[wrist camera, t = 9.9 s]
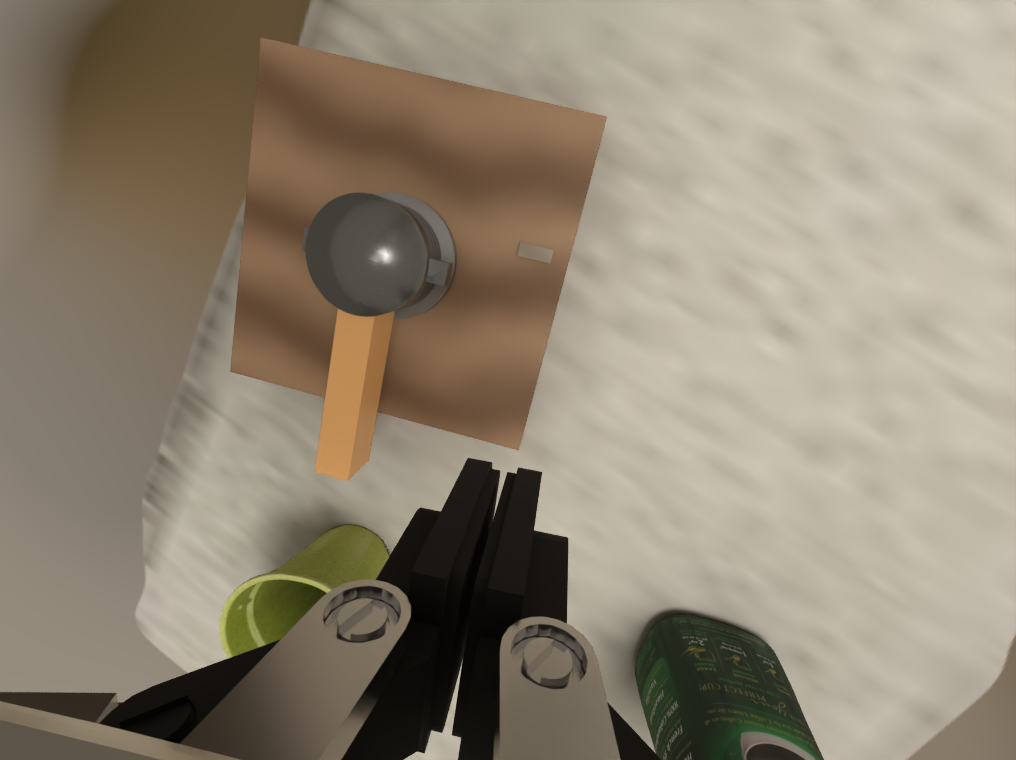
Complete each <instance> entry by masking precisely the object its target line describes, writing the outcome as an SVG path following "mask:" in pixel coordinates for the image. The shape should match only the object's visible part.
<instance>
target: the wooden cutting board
mask: <svg viewBox="0 0 1016 760" xmlns="http://www.w3.org/2000/svg"><path fill="white" fill-rule="evenodd" d="M606 119H607V117H606V116H601V115H597V114H593V113H588V112H584V111H579V110H575V109H571V108H566V107H562V106H558V105H553V104H549V103H545V102H540V101H536V100H532V99H527V98H523V97H518V96H514V95H510V94H505V93H501V92H497V91H492V90H488V89H484V88H479V87H475V86H470V85H466V84H462V83H457V82H453V81H449V80H444V79H440V78H436V77H431V76H427V75H422V74H418V73H414V72H409V71H405V70H401V69H396V68H392V67H388V66H383V65H379V64H375V63H370V62H366V61H361V60H357V59H353V58H348V57H344V56H340V55H335V54H331V53H327V52H322V51H318V50H313V49H309V48H305V47H300V46H296V45H292V44H287V43H283V42H278V41H274V40H270V39H265V38H261V41H260V52H259V64H258V74H257V85H256V96H255V107H254V118H253V129H252V140H251V150H250V161H249V172H248V184H247V194H246V205H245V216H244V227H243V238H242V249H241V260H240V271H239V282H238V293H237V304H236V314H235V325H234V336H233V347H232V358H231V369H230V372H234V373H237V374H241V375H245V376H248V377H252V378H256V379H259V380H263V381H267V382H270V383H274V384H278V385H281V386H285V387H289V388H292V389H296V390H300V391H303V392H307V393H311V394H314V395H318V396H322V397H325V396H326V389H327V382H328V375H329V368H330V361H331V354H332V347H333V340H334V333H335V326H336V319H337V312H338V308H337V307H335V306H334V305H332V304H331V303H330V302H329V301H327V300H326V299H325V298H324V296H323V295H322V294H321V293H320V292H319V290H318V289H317V287H316V286H315V284H314V282H313V280H312V278H311V276H310V273H309V270H308V267H307V262H306V253H305V251H302V243H303V234H304V228H309V227H310V225H311V223H312V221H313V219H314V218H315V216H316V214H317V213H318V212H319V211H320V210H321V208H322V207H324V206H325V205H326V204H327V203H328V202H330V201H331V200H333V199H334V198H337V197H339V196H341V195H345V194H348V193H356V192H359V193H369V194H374V195H377V196H380V197H383V198H385V199H388V200H391V201H394V202H396V203H399V204H402V205H405V206H407V207H409V208H411V209H413V210H415V211H416V212H418V213H419V214H420V215H422V216H423V217H424V218H425V219H426V220H427V222H428V223H429V224H430V225H431V227H432V228H433V230H434V232H435V234H436V236H437V238H438V241H439V245H440V249H441V261H445V262H449V263H453V267H452V272H451V277H450V282H449V286H441V285H437V284H435V286H434V288H433V289H432V290H431V292H430V293H429V294H428V295H427V296H426V297H425V298H424V299H423V300H422V301H420V302H419V303H417V304H415V305H413V306H411V307H408V308H405V309H401V310H397V311H395V312H394V318H393V324H392V330H391V335H390V341H389V347H388V353H387V358H386V364H385V370H384V376H383V381H382V387H381V393H380V399H379V404H378V410H377V412H380V413H384V414H387V415H391V416H395V417H398V418H402V419H406V420H409V421H413V422H417V423H420V424H424V425H428V426H431V427H435V428H439V429H442V430H446V431H450V432H453V433H457V434H461V435H464V436H468V437H472V438H475V439H479V440H483V441H486V442H490V443H494V444H497V445H501V446H505V447H508V448H512V449H516V450H519V447H520V443H521V439H522V436H523V432H524V428H525V424H526V421H527V417H528V413H529V409H530V405H531V402H532V398H533V394H534V390H535V387H536V383H537V379H538V375H539V371H540V368H541V364H542V360H543V356H544V353H545V349H546V345H547V341H548V338H549V334H550V330H551V326H552V322H553V319H554V315H555V311H556V307H557V304H558V300H559V296H560V292H561V288H562V285H563V281H564V277H565V273H566V270H567V266H568V262H569V258H570V255H571V251H572V247H573V243H574V239H575V236H576V232H577V228H578V224H579V221H580V217H581V213H582V209H583V205H584V202H585V198H586V194H587V190H588V187H589V183H590V179H591V175H592V172H593V168H594V164H595V160H596V156H597V153H598V149H599V145H600V141H601V138H602V134H603V130H604V126H605V122H606Z"/></svg>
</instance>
